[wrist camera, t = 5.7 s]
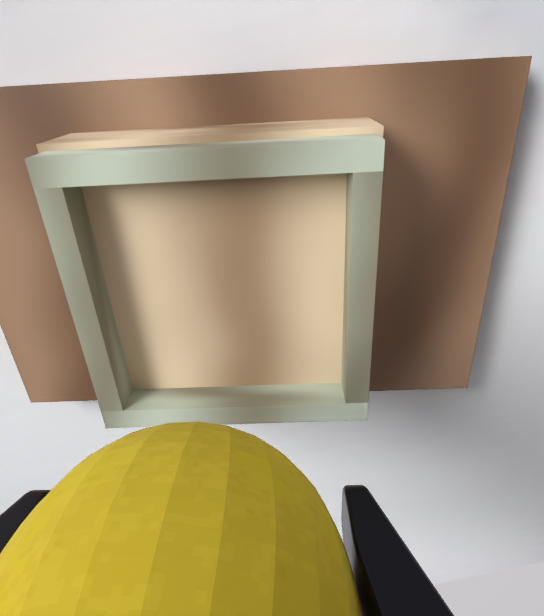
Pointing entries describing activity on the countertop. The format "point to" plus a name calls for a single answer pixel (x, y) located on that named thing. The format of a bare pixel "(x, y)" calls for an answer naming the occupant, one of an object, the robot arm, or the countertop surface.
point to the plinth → (414, 200)
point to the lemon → (180, 534)
